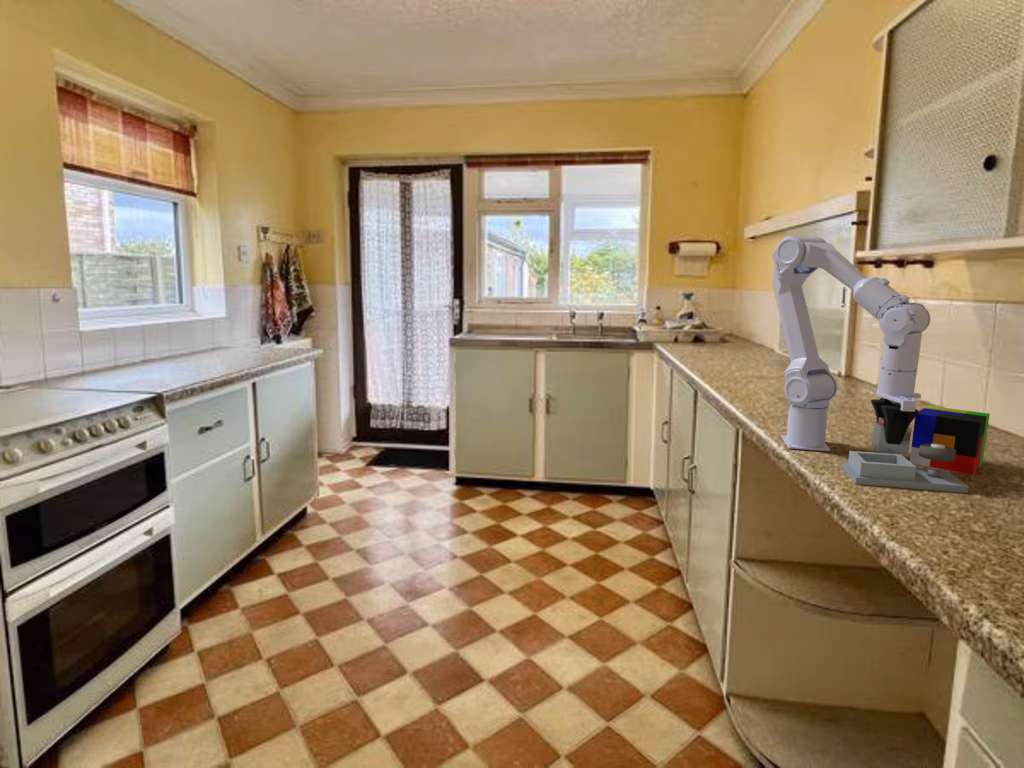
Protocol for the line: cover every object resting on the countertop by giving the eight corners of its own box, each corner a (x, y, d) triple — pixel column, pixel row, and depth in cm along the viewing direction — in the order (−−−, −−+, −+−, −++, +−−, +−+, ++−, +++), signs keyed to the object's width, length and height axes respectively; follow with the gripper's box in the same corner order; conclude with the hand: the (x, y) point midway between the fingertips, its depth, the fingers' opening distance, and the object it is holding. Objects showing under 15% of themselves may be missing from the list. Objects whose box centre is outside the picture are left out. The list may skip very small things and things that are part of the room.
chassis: (841, 468, 115) (843, 449, 114) (945, 476, 110) (947, 456, 110) (855, 484, 106) (857, 463, 105) (967, 493, 102) (970, 472, 101)
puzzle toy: (909, 463, 118) (915, 413, 116) (922, 452, 125) (928, 405, 123) (972, 475, 111) (980, 422, 109) (982, 463, 118) (989, 413, 116)
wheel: (914, 451, 109) (915, 440, 109) (947, 453, 108) (948, 442, 108) (925, 459, 104) (927, 448, 104) (960, 462, 103) (961, 450, 103)
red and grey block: (871, 446, 117) (875, 416, 116) (900, 448, 116) (904, 417, 115) (878, 451, 114) (882, 420, 112) (908, 454, 112) (912, 422, 111)
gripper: (939, 377, 104) (928, 453, 107) (908, 364, 118) (899, 432, 120) (893, 375, 106) (884, 450, 108) (868, 362, 120) (860, 429, 122)
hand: (889, 440), depth 115 cm, fingers closed on red and grey block, 4 cm apart
